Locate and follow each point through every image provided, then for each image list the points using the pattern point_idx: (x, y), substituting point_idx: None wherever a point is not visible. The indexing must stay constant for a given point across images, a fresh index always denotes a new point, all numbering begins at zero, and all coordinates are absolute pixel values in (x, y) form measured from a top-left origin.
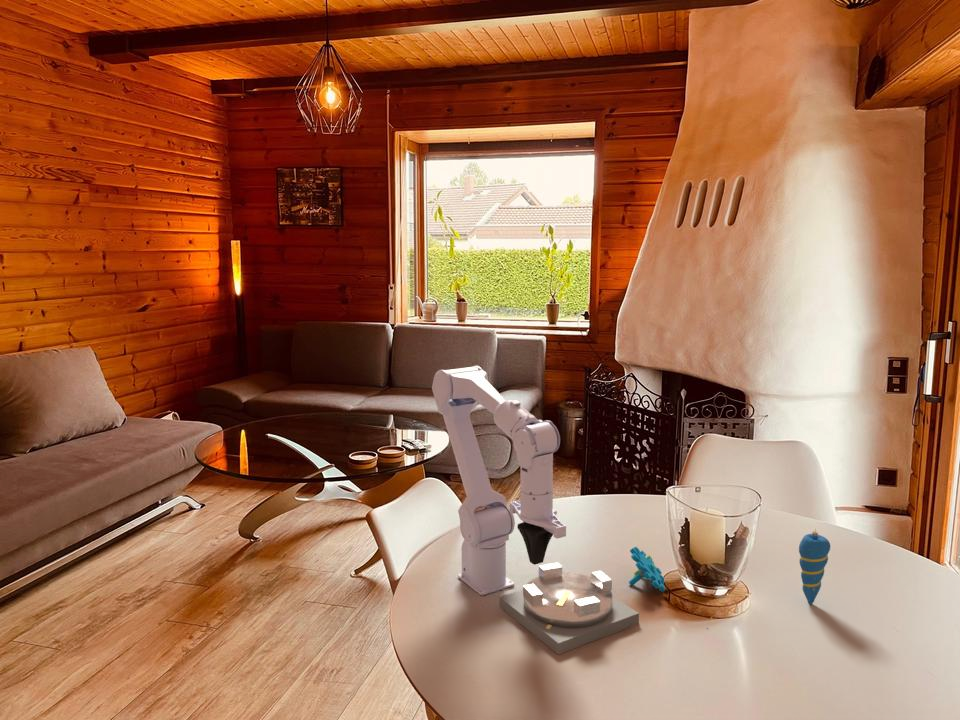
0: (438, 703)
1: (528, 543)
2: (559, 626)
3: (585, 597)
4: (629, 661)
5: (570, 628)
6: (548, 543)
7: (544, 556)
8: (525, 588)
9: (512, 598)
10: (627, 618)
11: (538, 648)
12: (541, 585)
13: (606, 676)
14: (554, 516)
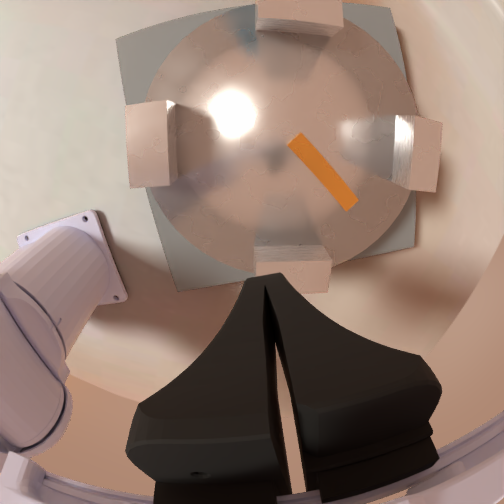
0: None
1: (279, 410)
2: None
3: (342, 102)
4: (465, 130)
5: None
6: (330, 319)
7: (287, 281)
8: None
9: (195, 266)
10: (398, 42)
11: (368, 262)
12: (211, 198)
13: (473, 193)
14: (490, 497)
